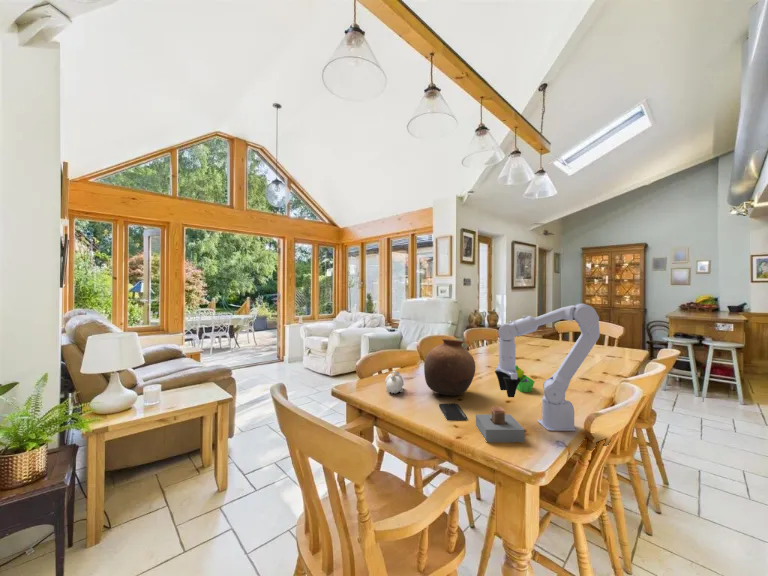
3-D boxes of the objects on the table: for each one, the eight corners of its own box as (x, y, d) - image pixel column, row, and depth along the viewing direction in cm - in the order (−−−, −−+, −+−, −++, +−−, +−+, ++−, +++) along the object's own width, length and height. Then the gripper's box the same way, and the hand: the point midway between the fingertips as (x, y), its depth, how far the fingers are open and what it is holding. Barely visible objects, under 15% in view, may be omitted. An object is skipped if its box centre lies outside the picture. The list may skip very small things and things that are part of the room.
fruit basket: (535, 392, 148) (535, 368, 148) (516, 392, 149) (516, 368, 149) (525, 385, 160) (525, 362, 160) (507, 385, 160) (507, 362, 160)
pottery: (421, 400, 139) (421, 342, 139) (427, 384, 162) (427, 334, 162) (476, 404, 134) (476, 344, 134) (474, 387, 156) (474, 335, 156)
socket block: (510, 425, 114) (510, 414, 114) (524, 442, 102) (524, 429, 102) (475, 425, 114) (475, 414, 114) (486, 442, 102) (486, 429, 102)
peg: (501, 430, 109) (501, 406, 109) (504, 435, 106) (504, 410, 106) (491, 430, 109) (491, 406, 109) (494, 435, 106) (494, 410, 106)
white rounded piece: (396, 375, 144) (395, 363, 159) (381, 384, 144) (381, 371, 159) (407, 392, 145) (405, 379, 160) (392, 402, 145) (391, 387, 160)
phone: (457, 403, 134) (467, 418, 119) (457, 406, 134) (467, 421, 119) (438, 403, 133) (446, 418, 118) (438, 406, 133) (446, 421, 118)
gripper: (490, 352, 127) (490, 387, 127) (503, 361, 112) (503, 400, 112) (508, 352, 127) (508, 387, 127) (523, 361, 112) (523, 400, 112)
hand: (507, 393), depth 120 cm, fingers open, 7 cm apart
